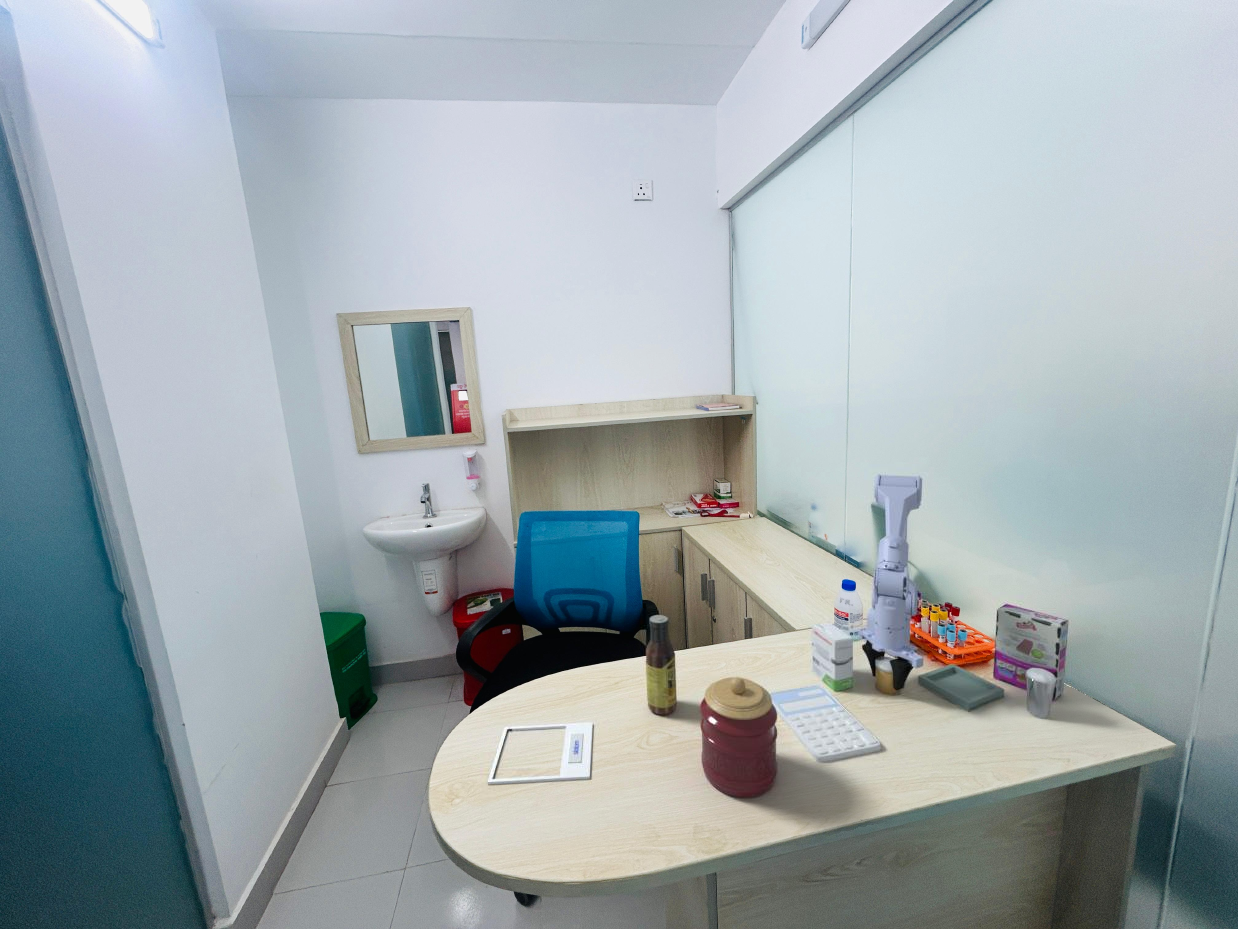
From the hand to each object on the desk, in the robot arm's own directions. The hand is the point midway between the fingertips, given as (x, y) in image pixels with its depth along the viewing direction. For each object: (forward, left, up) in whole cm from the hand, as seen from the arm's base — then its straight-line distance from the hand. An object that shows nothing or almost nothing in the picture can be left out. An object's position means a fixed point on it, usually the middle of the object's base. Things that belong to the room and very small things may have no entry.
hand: (887, 682), depth 110 cm
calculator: (+2, -21, -2) cm, 21 cm away
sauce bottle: (-16, -47, -2) cm, 50 cm away
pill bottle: (0, 0, -1) cm, 1 cm away
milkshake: (+19, +19, -2) cm, 27 cm away
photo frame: (-14, -73, -2) cm, 75 cm away
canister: (+6, -43, -2) cm, 43 cm away
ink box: (-8, -8, -2) cm, 11 cm away
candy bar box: (+12, +27, -2) cm, 30 cm away
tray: (+7, +13, -2) cm, 15 cm away
